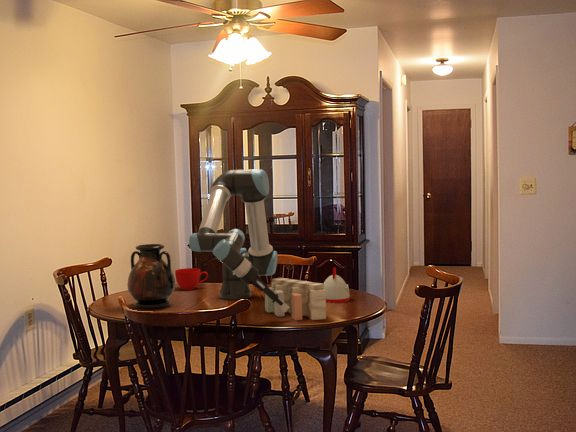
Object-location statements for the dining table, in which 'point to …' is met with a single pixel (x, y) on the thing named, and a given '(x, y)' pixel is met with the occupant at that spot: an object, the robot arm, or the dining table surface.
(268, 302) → the sage key
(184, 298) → the dining table surface
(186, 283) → the ceramic cup
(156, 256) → the amphora vase
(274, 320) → the dining table surface
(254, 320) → the dining table surface
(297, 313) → the salmon pink upright block
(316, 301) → the cream notched block
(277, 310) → the grey key
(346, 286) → the white and red dome
